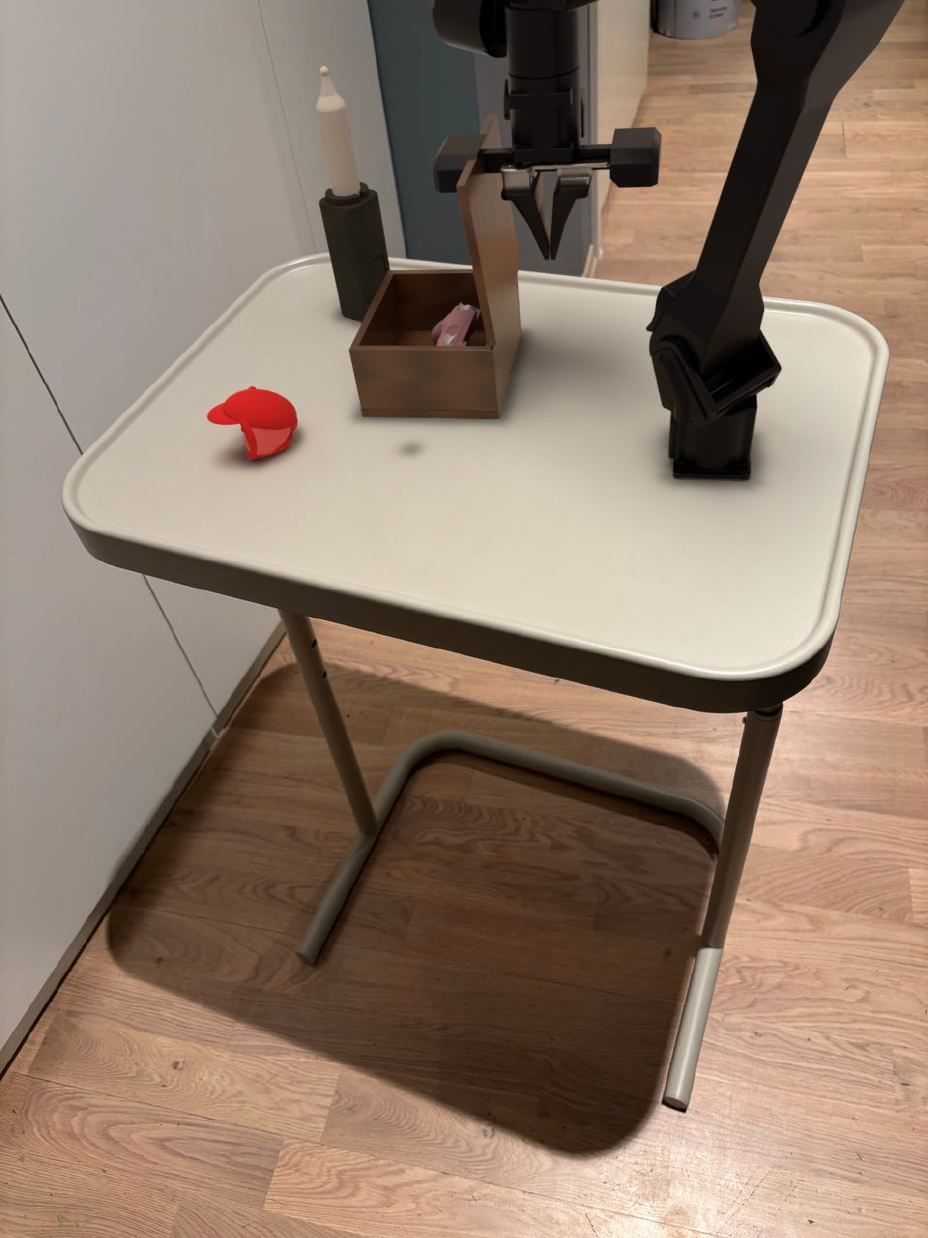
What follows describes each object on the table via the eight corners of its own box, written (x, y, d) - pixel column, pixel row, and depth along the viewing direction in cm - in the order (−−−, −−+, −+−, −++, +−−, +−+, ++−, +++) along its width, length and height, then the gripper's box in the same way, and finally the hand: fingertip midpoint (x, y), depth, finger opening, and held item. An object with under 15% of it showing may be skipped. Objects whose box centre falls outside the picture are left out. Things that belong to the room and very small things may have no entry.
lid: (455, 185, 74) (465, 184, 74) (487, 113, 85) (496, 112, 84) (487, 346, 84) (496, 345, 84) (513, 264, 94) (521, 263, 94)
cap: (282, 416, 94) (267, 362, 89) (313, 440, 90) (299, 386, 86) (211, 450, 91) (192, 397, 87) (241, 477, 87) (222, 423, 83)
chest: (362, 416, 92) (348, 349, 87) (398, 333, 103) (387, 269, 97) (498, 418, 90) (492, 350, 84) (521, 333, 100) (517, 267, 95)
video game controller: (447, 408, 93) (471, 352, 88) (404, 388, 92) (427, 331, 87) (469, 354, 99) (494, 300, 94) (430, 336, 99) (452, 280, 94)
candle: (366, 295, 110) (321, 55, 92) (400, 304, 107) (360, 59, 89) (337, 315, 107) (285, 72, 89) (371, 324, 105) (325, 77, 87)
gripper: (668, 28, 77) (659, 216, 89) (448, 42, 81) (466, 221, 92) (662, 73, 70) (653, 273, 81) (420, 86, 74) (444, 275, 85)
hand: (550, 257), depth 85 cm, fingers closed
